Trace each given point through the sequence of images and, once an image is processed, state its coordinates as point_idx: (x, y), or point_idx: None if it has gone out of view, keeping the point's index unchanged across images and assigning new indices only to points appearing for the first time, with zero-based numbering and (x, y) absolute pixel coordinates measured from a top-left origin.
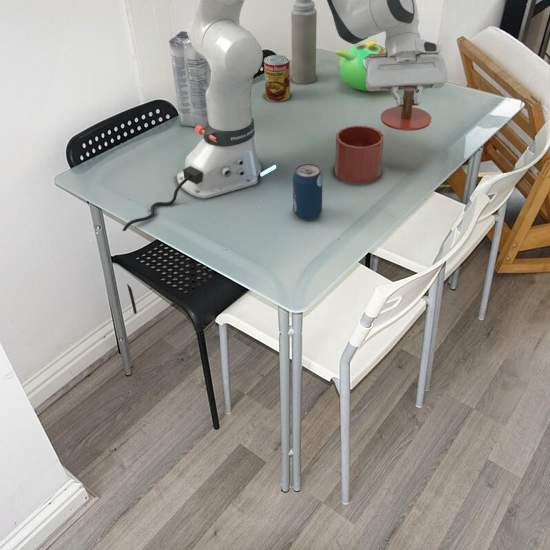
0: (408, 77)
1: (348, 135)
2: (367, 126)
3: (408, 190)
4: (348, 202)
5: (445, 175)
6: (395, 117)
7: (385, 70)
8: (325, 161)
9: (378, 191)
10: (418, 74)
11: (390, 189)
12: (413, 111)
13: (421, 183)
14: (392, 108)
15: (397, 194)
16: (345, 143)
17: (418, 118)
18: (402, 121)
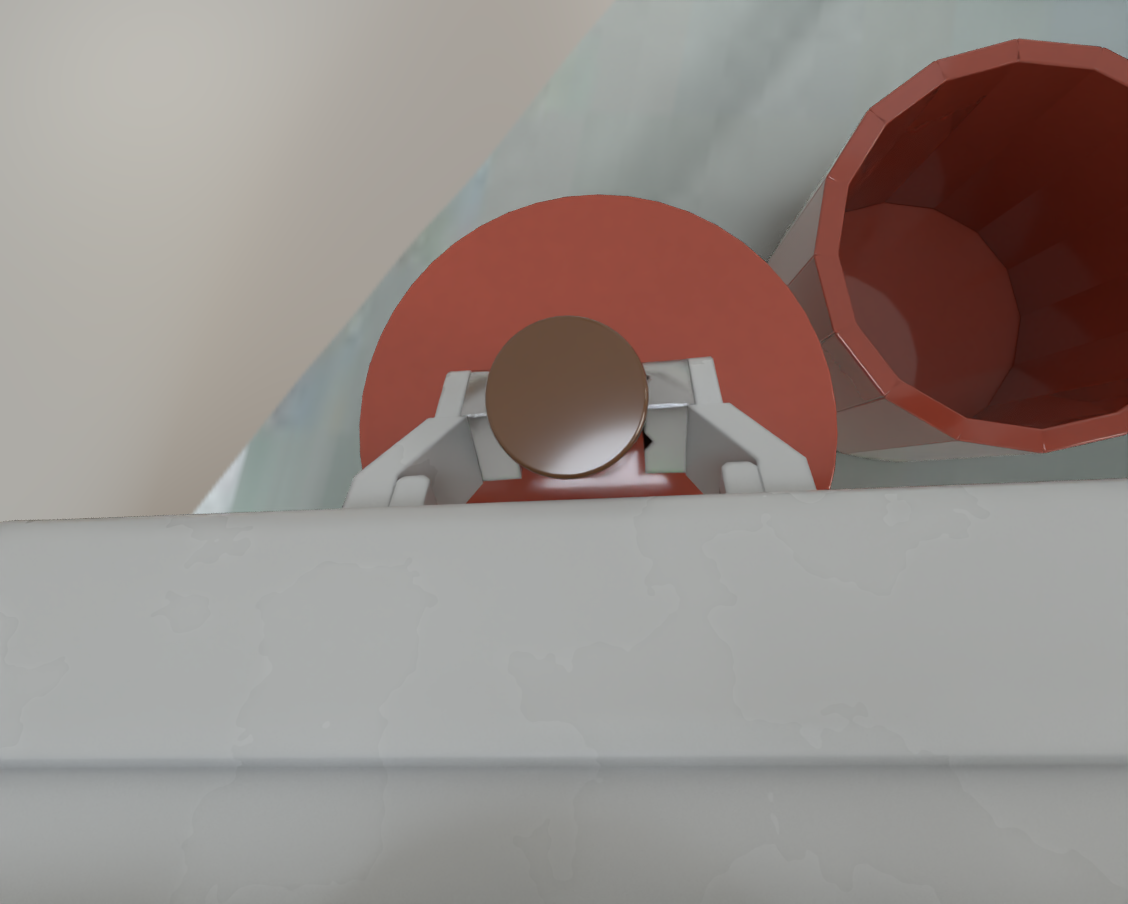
0: (546, 584)
1: (1066, 418)
2: (936, 425)
3: (621, 128)
4: (973, 20)
5: (391, 270)
6: None
7: (1092, 776)
8: (1077, 477)
9: (788, 124)
10: (337, 635)
11: (718, 142)
12: None
13: (537, 195)
14: None
15: (688, 91)
16: (1050, 408)
17: None
18: (640, 341)
